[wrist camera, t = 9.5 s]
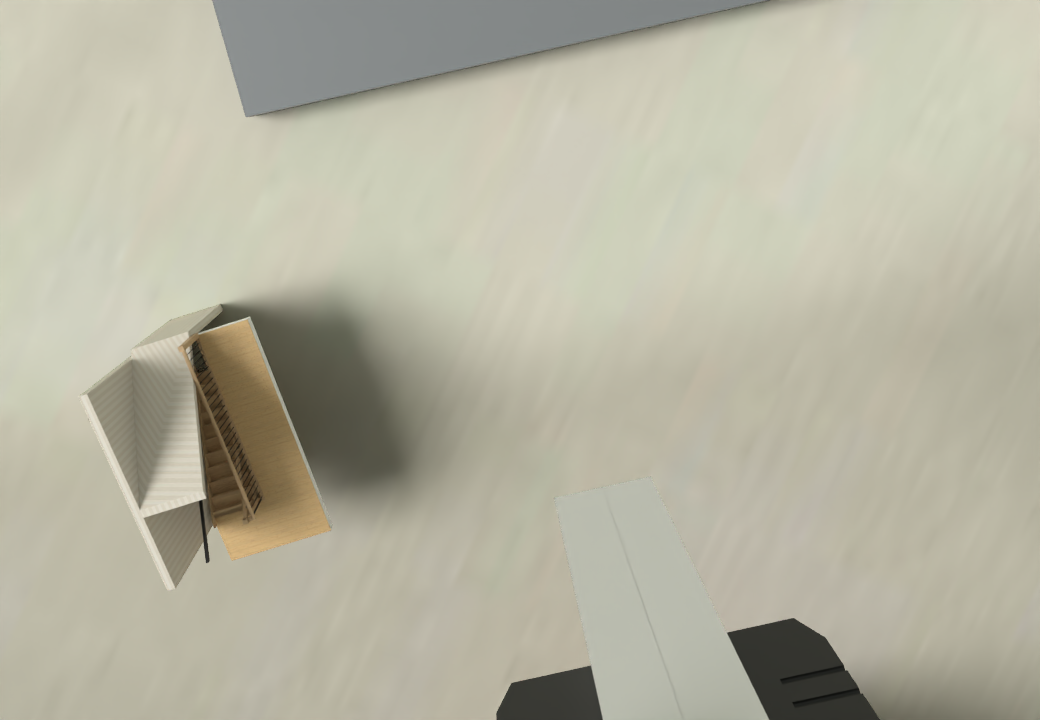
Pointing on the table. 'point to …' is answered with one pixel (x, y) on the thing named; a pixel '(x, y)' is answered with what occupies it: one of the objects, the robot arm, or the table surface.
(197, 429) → the architectural model
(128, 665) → the table surface
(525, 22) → the label board
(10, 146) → the table surface
